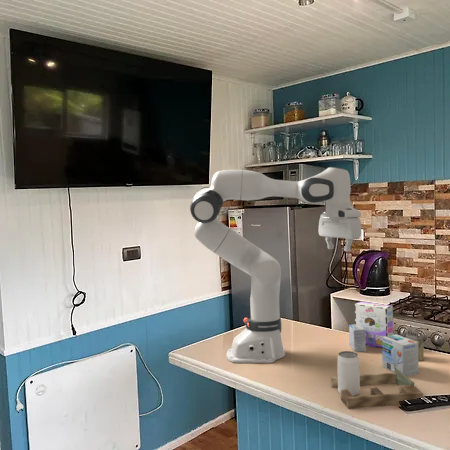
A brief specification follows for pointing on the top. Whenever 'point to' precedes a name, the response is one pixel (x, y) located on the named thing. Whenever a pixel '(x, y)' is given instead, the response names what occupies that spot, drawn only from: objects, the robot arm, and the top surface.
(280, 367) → the top surface
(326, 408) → the top surface
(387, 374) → the trap box
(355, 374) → the can
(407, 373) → the light bulb box
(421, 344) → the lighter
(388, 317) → the candy box
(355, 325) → the medicine box
